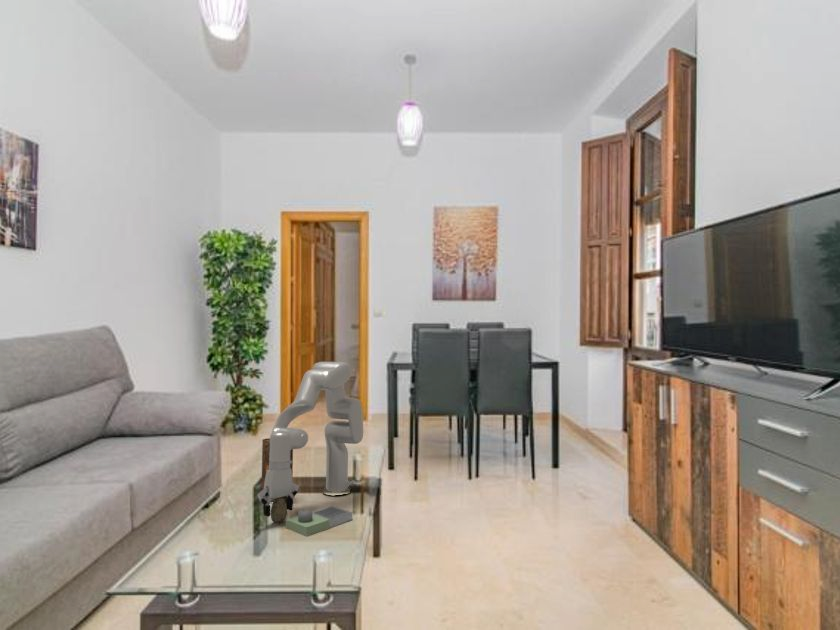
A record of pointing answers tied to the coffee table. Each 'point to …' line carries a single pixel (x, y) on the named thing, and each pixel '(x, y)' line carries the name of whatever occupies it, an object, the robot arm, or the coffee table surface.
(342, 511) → the tray
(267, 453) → the book
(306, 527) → the deck
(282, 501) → the decorative egg
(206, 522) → the coffee table surface
